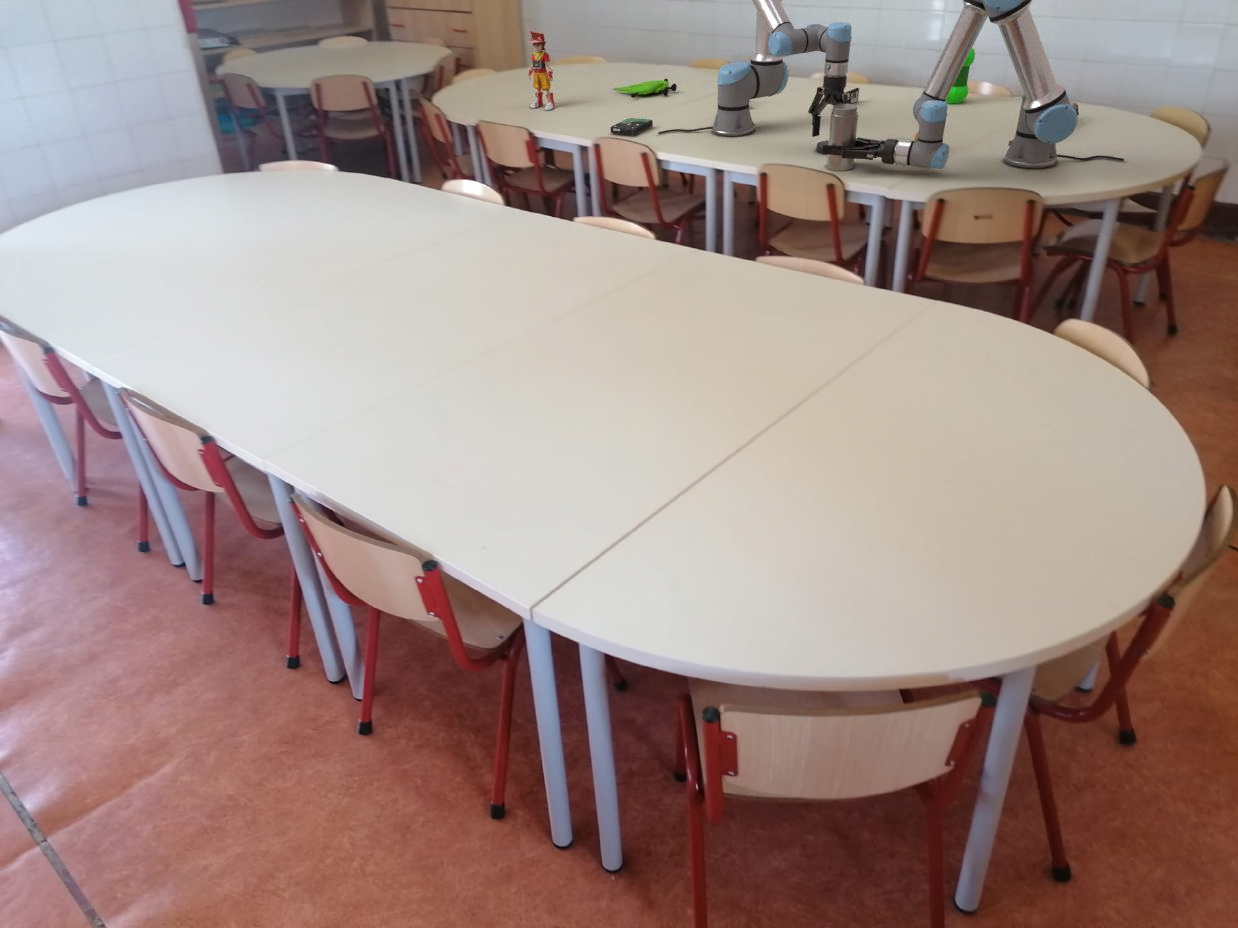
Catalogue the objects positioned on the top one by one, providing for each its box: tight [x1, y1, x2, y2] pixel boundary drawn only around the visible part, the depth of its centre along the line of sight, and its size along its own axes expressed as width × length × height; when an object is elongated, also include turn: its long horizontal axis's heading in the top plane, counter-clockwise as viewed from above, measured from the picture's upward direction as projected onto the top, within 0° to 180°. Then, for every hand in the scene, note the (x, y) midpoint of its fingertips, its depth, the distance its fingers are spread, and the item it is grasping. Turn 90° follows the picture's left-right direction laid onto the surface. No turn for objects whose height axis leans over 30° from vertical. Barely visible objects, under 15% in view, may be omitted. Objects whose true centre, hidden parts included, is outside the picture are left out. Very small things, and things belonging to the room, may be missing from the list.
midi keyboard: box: [839, 87, 860, 104], centre depth 357 cm, size 18×1×5 cm, turn 138°
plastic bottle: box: [945, 47, 976, 104], centre depth 348 cm, size 10×10×25 cm
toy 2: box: [612, 78, 677, 99], centre depth 396 cm, size 28×5×30 cm
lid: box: [815, 140, 829, 155], centre depth 309 cm, size 9×9×2 cm
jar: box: [826, 103, 859, 171], centre depth 289 cm, size 8×8×19 cm
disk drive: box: [610, 117, 653, 136], centre depth 344 cm, size 10×3×15 cm
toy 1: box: [527, 31, 556, 111], centre depth 374 cm, size 12×9×30 cm
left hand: (829, 140), depth 309 cm, fingers open, 13 cm apart
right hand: (827, 145), depth 293 cm, fingers closed on jar, 8 cm apart
